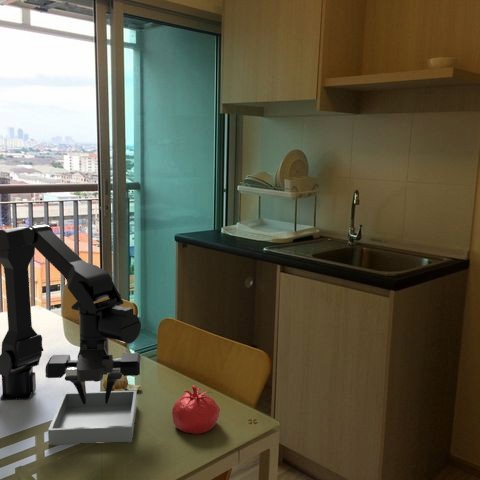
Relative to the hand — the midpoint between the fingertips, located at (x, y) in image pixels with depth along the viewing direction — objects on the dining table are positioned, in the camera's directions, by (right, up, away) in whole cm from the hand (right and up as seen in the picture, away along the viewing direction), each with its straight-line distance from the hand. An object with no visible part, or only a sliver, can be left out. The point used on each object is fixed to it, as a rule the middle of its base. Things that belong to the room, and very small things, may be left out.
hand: (95, 403), depth 113 cm
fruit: (+4, -4, +16) cm, 17 cm away
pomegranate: (+21, -6, +2) cm, 22 cm away
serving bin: (0, -5, +1) cm, 5 cm away
